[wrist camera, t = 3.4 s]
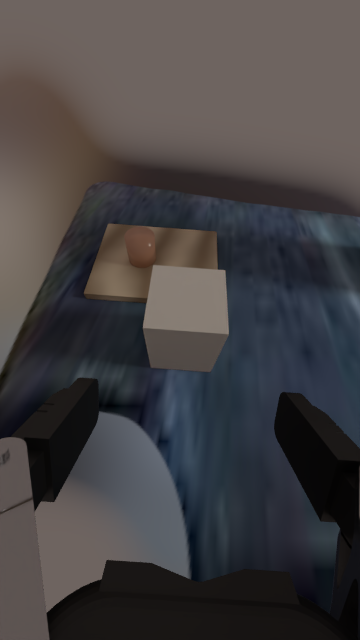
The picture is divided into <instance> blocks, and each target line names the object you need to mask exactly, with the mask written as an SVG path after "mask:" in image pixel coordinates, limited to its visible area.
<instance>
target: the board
mask: <svg viewBox="0 0 360 640" xmlns="http://www.w3.org/2000/svg"><path fill="white" fill-rule="evenodd" d="M134 227H147V226H134V225H120V224H108V226H107V229H106V232H105V234H104V237H103V240H102V243H101V246H100V249H99V252H98V254H97V257H96V260H95V263H94V266H93V269H92V271H91V274H90V277H89V280H88V283H87V286H86V288H85V291H84V295H85V297H86V299H99V300H112V301H126V302H139V303H147V299H148V293H149V287H150V281H151V275H152V269H153V265H160V266H174V267H187V268H201V269H215V270H218V262H217V232H214V231H201V230H188V229H174V228H161V227H147V228H149V229H151V230H152V231H153V232H154V235H155V249H156V261H155V262H154V264H153V265H151V266H149V267H146V268H137V267H135V266H133V265H132V264H131V263H130V262H129V258H128V253H127V248H126V243H125V238H124V235H125V233H126V232H127V231H128V230H129V229H131V228H134Z"/></svg>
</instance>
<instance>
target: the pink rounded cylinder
mask: <svg viewBox="0 0 360 640" xmlns="http://www.w3.org/2000/svg"><path fill="white" fill-rule="evenodd" d="M124 238H125V243H126V248H127V253H128V258H129V262H130V263H131V264H132V265H133V266H135V267H137V268H146V267H149V266H151V265H153V264H154V262H155V261H156V249H155V235H154V232H153V231H152V230H151V229H149V228H147V227H134V228H131V229H129V230H128V231H127V232H126V233H125V235H124Z"/></svg>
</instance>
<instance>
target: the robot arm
mask: <svg viewBox="0 0 360 640" xmlns="http://www.w3.org/2000/svg"><path fill="white" fill-rule="evenodd" d="M98 415H99V389H98V380H97V379H92V378H78V379H77V380H76V381H75V382H74V383H73V384H72V385H71V386H70V387H69V389H65V388H64V389H62V390H60V391H59V392H57V393H55V394H53V395H52V396H51V397H50V398H49V399H48V400H47V401H46V402H45V403H44V405H42V406H41V407H40V408H39V409H38V410H37V412H35V413H34V414H33V415H32V416H31V417H30V418H29V419H28V420H27V421H26V422H25V423H24V424H23V425H22V426H21V427H20V428H19V429H18V430H17V431H16V432H15V433H14V434H13V435H12V436H11V437H9V438H2V439H0V640H360V449H359V447H358V446H357V445H356V444H355V443H354V442H353V441H352V440H351V439H350V438H349V437H348V436H347V435H346V434H344V432H343V431H342V430H341V429H340V428H339V426H336V423H335V422H334V421H333V420H332V419H331V418H330V417H329V416H328V415H327V414H326V413H324V412H323V411H321V410H320V409H318V408H317V407H315V406H312V405H311V403H310V402H309V401H308V400H307V399H306V398H305V397H304V396H303V395H302V394H300V393H287V392H282V393H281V394H280V397H279V402H278V407H277V412H276V417H275V423H274V430H275V435H276V438H277V440H278V442H279V444H280V446H281V448H282V450H283V452H284V453H285V455H286V457H287V459H288V461H289V463H290V465H291V467H292V468H293V470H294V472H295V474H296V476H297V478H298V480H299V482H300V483H301V485H302V487H303V489H304V491H305V493H306V495H307V497H308V498H309V500H310V502H311V504H312V506H313V508H314V510H315V512H316V513H317V515H318V517H319V519H320V521H324V522H337V524H338V526H339V527H340V531H339V534H338V539H337V550H336V561H335V572H334V583H333V594H332V603H331V609H330V614H329V613H328V612H327V611H325V610H324V609H322V608H321V607H319V606H318V605H317V604H315V603H314V602H312V601H310V600H308V599H306V598H305V597H303V596H301V595H298V594H296V591H295V588H294V585H293V582H292V579H291V577H290V574H289V572H278V571H263V570H248V569H243V570H240V571H237V572H234V573H230V574H227V575H224V576H220V577H217V578H214V579H211V580H207V581H204V582H196V581H193V580H190V579H188V578H186V577H183V576H181V575H178V574H176V573H174V572H171V571H169V570H167V569H164V568H162V567H160V566H157V565H155V564H152V563H143V562H127V561H113V560H112V561H111V560H107V561H106V564H105V568H104V573H103V576H102V579H101V580H98V581H95V582H92V583H90V584H88V585H85V586H83V587H81V588H80V589H78V590H76V591H74V592H73V593H71V594H70V595H68V596H67V597H65V598H64V599H63V600H61V601H60V602H59V603H57V604H56V605H55V606H54V607H53V608H52V609H51V610H50V611H48V612H47V613H46V606H45V598H44V589H43V580H42V572H41V564H40V555H39V546H38V538H37V529H36V521H35V510H36V509H37V507H38V505H39V503H40V502H41V501H47V502H54V501H55V499H56V497H57V496H58V494H59V492H60V490H61V488H62V487H63V485H64V483H65V481H66V479H67V477H68V475H69V474H70V472H71V470H72V468H73V466H74V464H75V462H76V461H77V459H78V457H79V455H80V453H81V451H82V450H83V448H84V446H85V444H86V442H87V440H88V438H89V437H90V435H91V433H92V431H93V429H94V427H95V425H96V423H97V420H98Z"/></svg>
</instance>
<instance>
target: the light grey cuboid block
mask: <svg viewBox="0 0 360 640" xmlns="http://www.w3.org/2000/svg"><path fill="white" fill-rule="evenodd" d="M143 332H144V337H145V342H146V347H147V351H148V356H149V361H150V366H151V368H159V369H173V370H187V371H201V372H211V370H212V368H213V366H214V364H215V362H216V360H217V358H218V356H219V354H220V351H221V349H222V347H223V345H224V343H225V341H226V339H227V337H228V335H229V329H228V311H227V293H226V275H225V270H215V269H201V268H187V267H174V266H160V265H153V269H152V275H151V281H150V287H149V293H148V299H147V305H146V311H145V317H144V323H143Z"/></svg>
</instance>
